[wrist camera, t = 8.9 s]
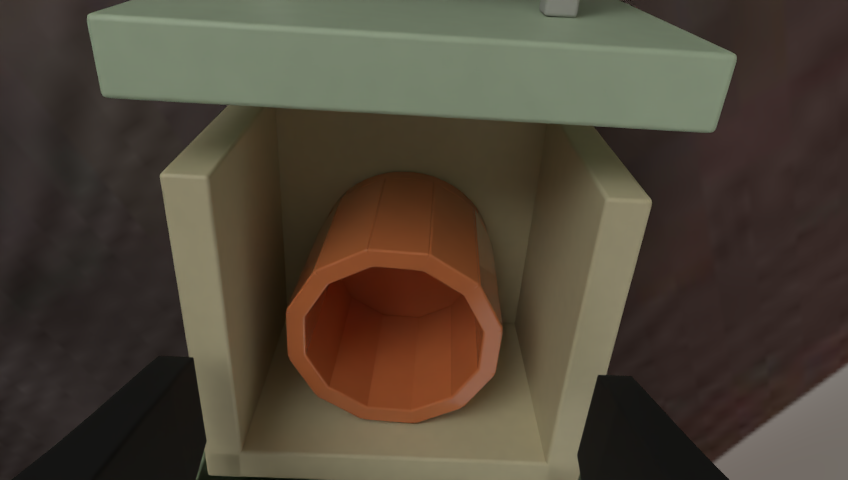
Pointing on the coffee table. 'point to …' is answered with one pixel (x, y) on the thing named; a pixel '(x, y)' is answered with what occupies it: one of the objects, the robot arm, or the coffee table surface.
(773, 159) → the coffee table surface
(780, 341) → the coffee table surface
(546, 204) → the drawer
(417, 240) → the tumbler
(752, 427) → the coffee table surface
